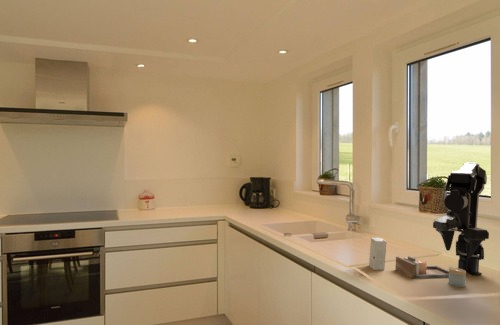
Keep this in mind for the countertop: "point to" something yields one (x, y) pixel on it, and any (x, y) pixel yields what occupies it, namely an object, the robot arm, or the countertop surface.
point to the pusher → (414, 263)
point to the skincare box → (377, 254)
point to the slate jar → (457, 277)
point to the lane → (409, 270)
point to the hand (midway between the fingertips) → (458, 254)
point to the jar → (422, 266)
